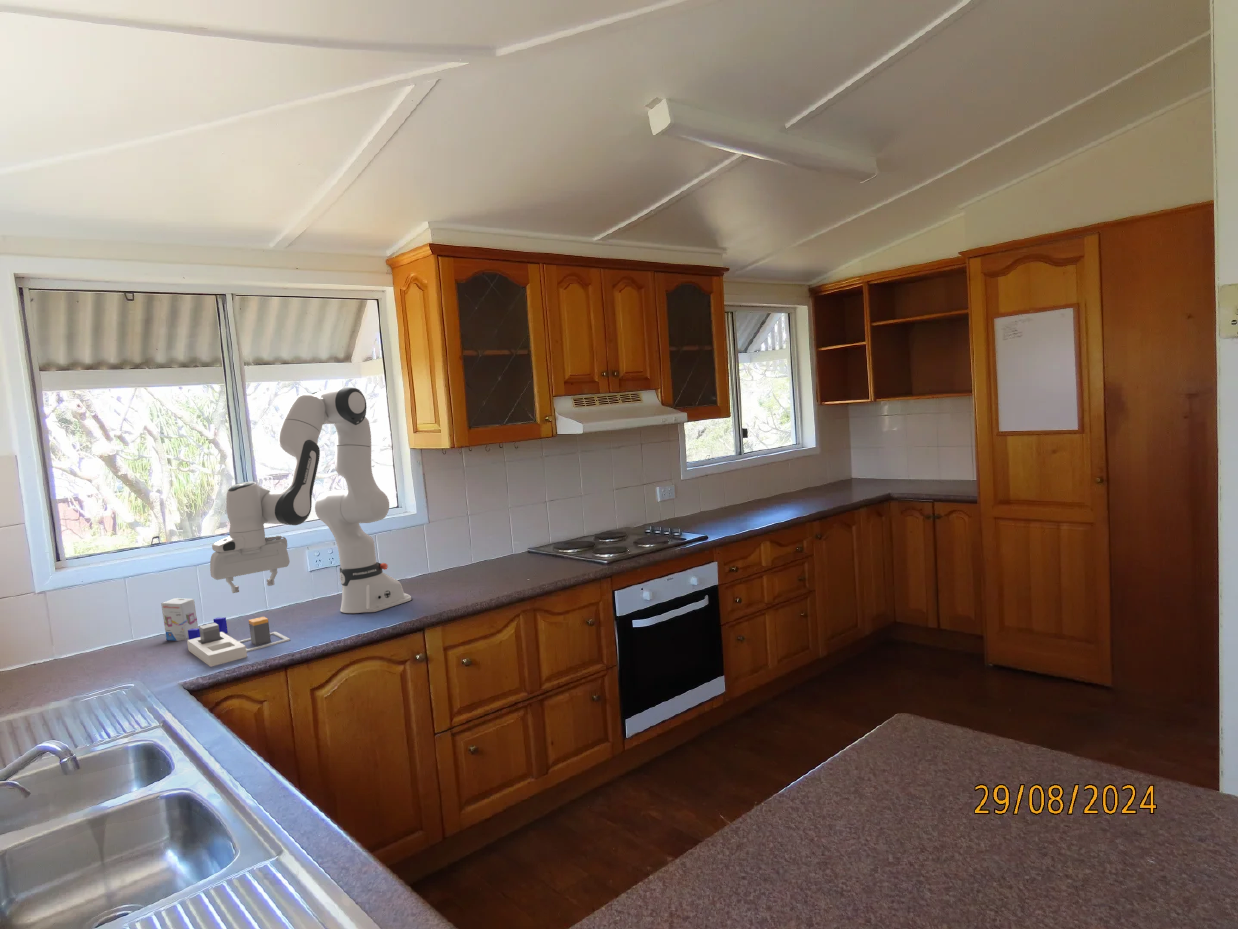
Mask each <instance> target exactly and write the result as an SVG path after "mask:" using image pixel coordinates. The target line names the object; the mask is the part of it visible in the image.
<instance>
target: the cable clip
mask: <svg viewBox="0 0 1238 929" xmlns="http://www.w3.org/2000/svg"><path fill="white" fill-rule="evenodd" d="M213 623H216V624H218V625H219V631H220V632H223V633H225V634H227V635H228V632H229V631H228V625H227V618H226V617H225V616H224V617H214V618H213ZM188 636H189V639H188V640H190V639H194V638H198V637H200V631H199V627H198V628H195V629H189V630H188Z"/></svg>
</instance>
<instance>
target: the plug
mask: <svg viewBox="0 0 1238 929" xmlns="http://www.w3.org/2000/svg"><path fill="white" fill-rule="evenodd" d="M248 626H249V633H250V638H251V640H250V641H251V644H253V645H254V646H261V645H265V644H269V643H272V641H271V639H272V638H271V635H270V633H271V632H270V624H269V618H267V617H265V616H260V617H256V618H252V619H248Z"/></svg>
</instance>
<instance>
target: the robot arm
mask: <svg viewBox="0 0 1238 929" xmlns="http://www.w3.org/2000/svg"><path fill="white" fill-rule="evenodd" d="M367 408H368V407H367V400H366V397H365V395H364V393H363V392H362V391H361V389H359V388H356V387H350V386H344V387H334V388H328V389H325V390H321V391H316V392H313V393H302V394H299V395H297V396H296V397H295V398H294V399H293V401H292V403H291V404H290V406H289V408H288V409H287V412H286V413H285V415H284V418H283V420H282V422H281V425H280V427H279V431H278V436H277V441H278V444H279V446H280V448H281V449H282V450H283V451H285V453H287V454H288V455H290V456H292V457H294V458H295V461H296V462H295V467H294V470H293V475H292V479H291V484H290V485H289V486H288V487H287V488H286V489H283V490H282V489H281V490H273V489H268V488H266V487H263V486H260V485H259V484H258V483H257V482H255V481H251V480H250V481H244V482H239V483H235V484H233V485H231V486H229V488H228V489H227V493H226V498H225V499H226V504H225V505H226V515H227V519H228V522H229V529H228V531H229V536H227V537H224V538H222V539H220V540H218V541H216V542H214V543H212V545H211V549H212V551H214V552H212V554H211V557H210V561H209V562H210V564H209V567H210V568H209V569H210V576H211V578H213V579H214V580H217V581H218V580H224V579H225V582H226V583H227V584H228V585H229V587H230V588H231V593H232V594H237V593H240V586H239V585H237V584H236V585H235V584H234V583H233V582H234V581H235V580H234V578H235V577H239V576H240V577H241V576H245V575H250V574H256V573H261V572H267V571H269V573H271V575H270V576H269V578H268V579H266V582H267V583H266V585H267V586H268V587H271V586H275V579H276V577H277V574H278V569H282V568H287V567H288V566H289V565H290V556H289V552H288V539H287V538H286V537H285V536H282V535H275V536H267V537H266V533H265V524H272V525H278V524H279V525H289V526H298V525H301V524H304V523H305V521H306V520H307V519H308V518H309V516H310V515H311V511H312V503H313V500H312V498H313V492H314V485H315V482H316V477H317V472H318V468H319V462H320V456H321V453H320V452H321V451H320V447H319V445H318V440H319V438H320V434H321V432H322V428H323V425H334V427H335V430H336V438H335V460H334V462H335V464H334V470H335V471H336V473H337V474H338V475H339V476H341V477H343V479H345V480H344V481H345V482H346V486H347V489H335V490H334V489H333V490H330V491H326V492H324V493H321V494H320V495H319V496H318V497H317V498H316V501H315V504H314V510H315V515H316V517H317V518H318V519H319V520H320V521H321V522H323V523H324V524H325V525H326V526H327V528H328V529H329V530H330V532H331V533H332V535H333V537H334V540H335V542H336V545H337V549H338V557H339V563H340V564H339V565H340V567H339V579H340V580H339V581H340V582H341V583H340V585H341V587H342V588H341V590H342V591H341V606H340V610H339V611H340V612H341V613H343V614H359V613H361V614H362V613H375V612H379V611H382V610H385V609H389V608H392V607H394V606H398V605H400V604H404V603H406V602H409V601H411V600H412V596H411V595H410V594H408V593H405V592H404V589H403V586H402V584H401V582H400V581H399V580H397V579H395V578H394V577H392V576H391V575H389V574H387V573H385V572H383V570H385V571H386V570H387V569H388V568H389V566H388V564H387V563H385V562H382V563H381V562H377V556H376V549H375V548H376V547H375V541H374V539H373V538H372V537H371V535H369V534H368V533H366V532H365V530H363V529H362V527H361V525H360V524H370V523H375V522H378V521H382V520H384V519H385V518H386V517H387V515H388V513H389V510H390V501H389V498H388V495H387V494H386V493H385V492H384V491H382V490H381V489H380V487H379V486H378V484H377V482H376V481H375V478H374V474H373V469H372V433H371V425H370V421H369V419H368V417H366V415H367Z"/></svg>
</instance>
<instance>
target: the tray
mask: <svg viewBox="0 0 1238 929" xmlns="http://www.w3.org/2000/svg"><path fill="white" fill-rule="evenodd" d="M273 635H274V636H276V637H277V638H280V639H281V640H277V641H274V642H268V643H264V644H260V645H257V646H255V647H251V648H247V647H246V651H247V653H248V652H252V651H255V650H260V649H264V648H267V647H271V646H274V645H279V644H282V643H286V642H288V641H291V638H290V637H287V636H285V635H283V634H282V633H279V632H277V631H272V632H270V636H273ZM237 641H238V642H240V643H242V644H243V643H246V642H249V641H251V637H249V638H245V639H241V640H237Z"/></svg>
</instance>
